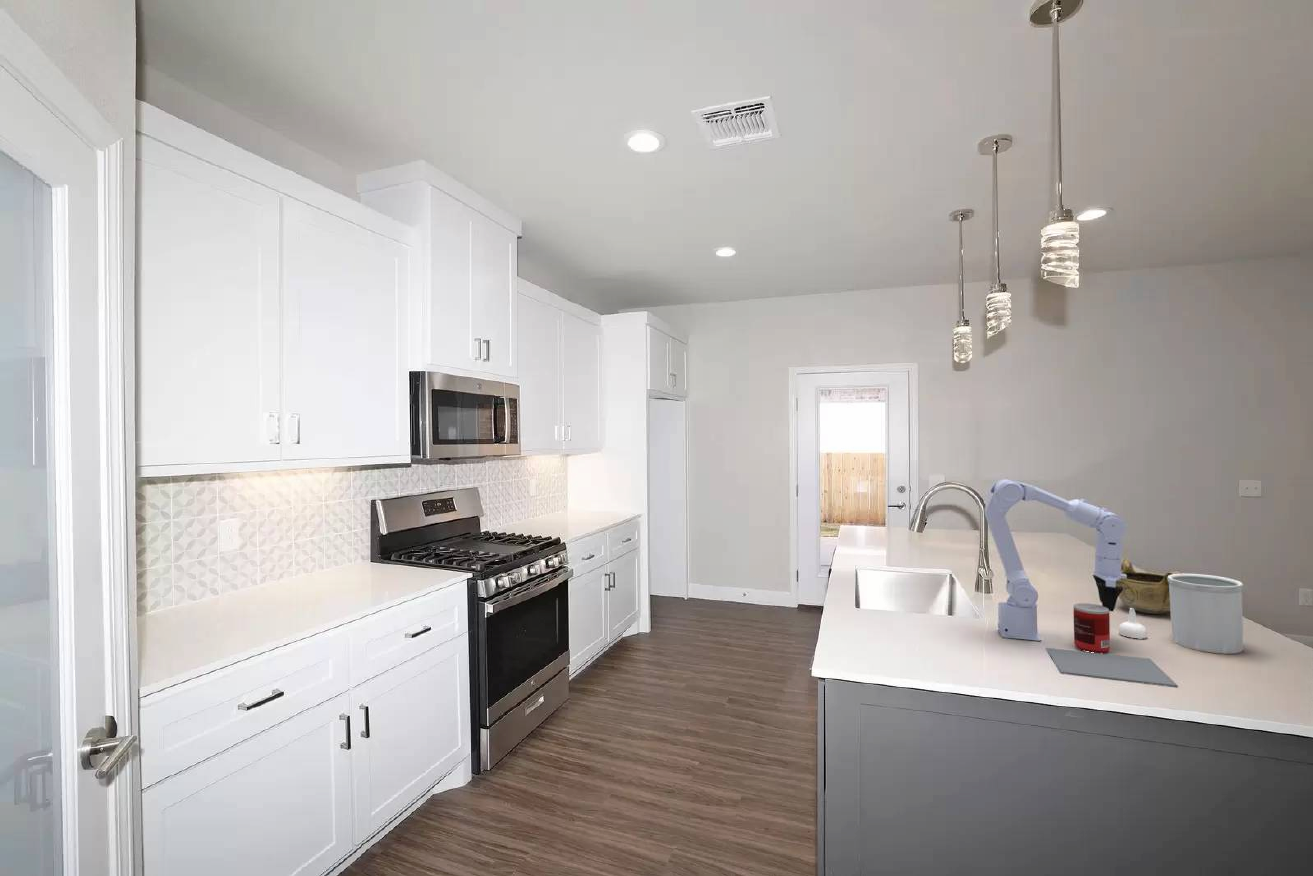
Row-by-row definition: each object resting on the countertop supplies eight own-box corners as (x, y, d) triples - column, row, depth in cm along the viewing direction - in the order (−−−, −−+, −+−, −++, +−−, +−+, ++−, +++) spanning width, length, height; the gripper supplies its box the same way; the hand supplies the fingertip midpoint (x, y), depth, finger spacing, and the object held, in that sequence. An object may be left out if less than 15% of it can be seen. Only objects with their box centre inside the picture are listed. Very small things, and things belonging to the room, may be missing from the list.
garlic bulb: (1152, 642, 162) (1154, 613, 162) (1126, 639, 163) (1128, 610, 163) (1138, 635, 168) (1140, 607, 168) (1113, 631, 170) (1115, 604, 169)
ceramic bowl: (1094, 602, 198) (1094, 557, 198) (1142, 600, 199) (1142, 556, 199) (1155, 623, 176) (1154, 573, 176) (1209, 621, 177) (1208, 571, 177)
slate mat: (1060, 673, 141) (1060, 671, 141) (1046, 649, 157) (1046, 647, 157) (1177, 687, 133) (1177, 685, 133) (1150, 660, 148) (1150, 658, 148)
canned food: (1108, 646, 158) (1107, 605, 158) (1111, 656, 151) (1111, 613, 151) (1073, 641, 162) (1072, 601, 162) (1074, 651, 155) (1074, 609, 155)
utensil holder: (1167, 646, 158) (1166, 580, 158) (1169, 632, 168) (1168, 570, 168) (1245, 659, 148) (1244, 589, 147) (1242, 643, 158) (1241, 578, 158)
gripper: (1131, 565, 152) (1129, 617, 153) (1123, 553, 165) (1121, 601, 165) (1096, 561, 156) (1095, 612, 157) (1091, 549, 168) (1090, 597, 169)
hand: (1106, 606), depth 161 cm, fingers open, 7 cm apart
